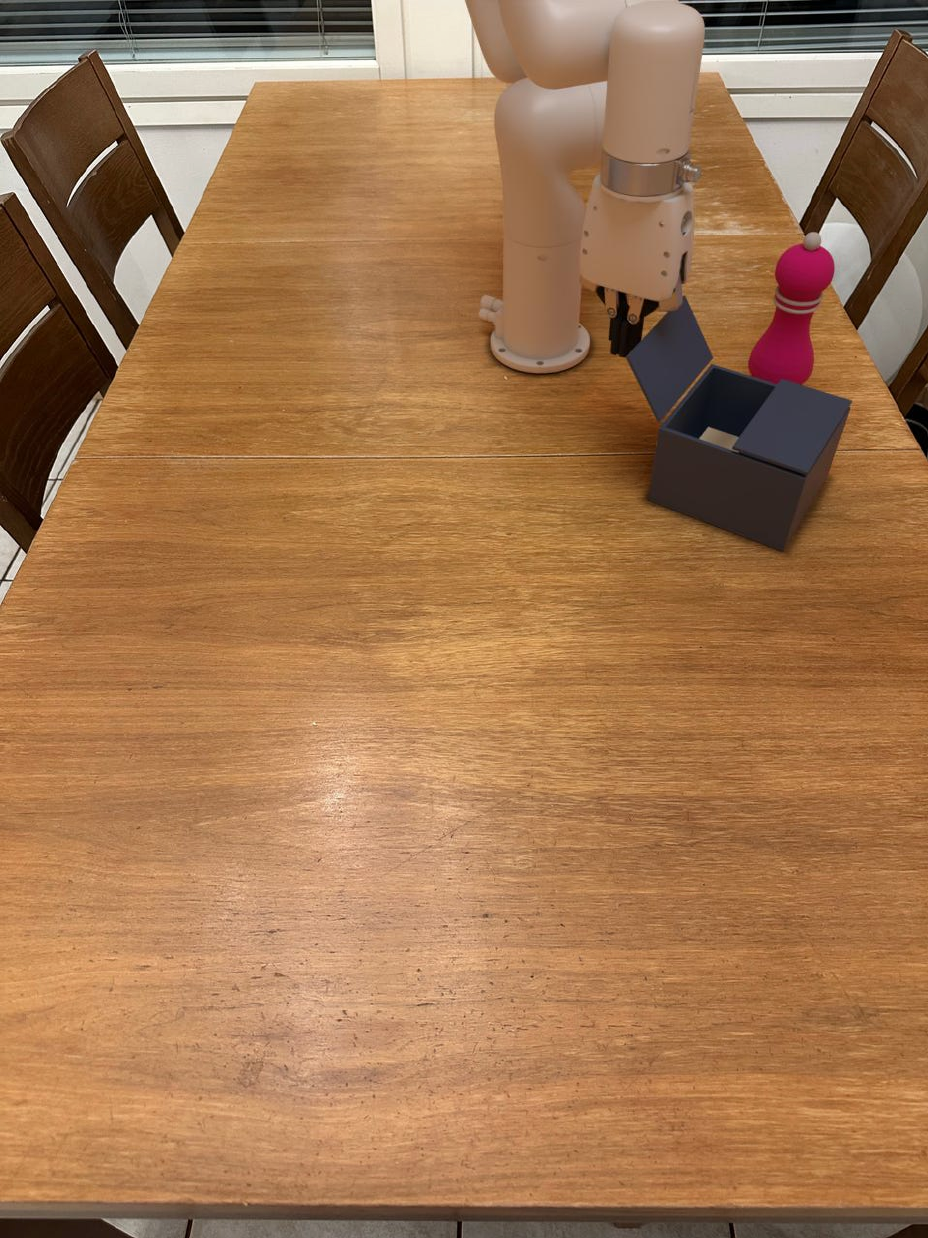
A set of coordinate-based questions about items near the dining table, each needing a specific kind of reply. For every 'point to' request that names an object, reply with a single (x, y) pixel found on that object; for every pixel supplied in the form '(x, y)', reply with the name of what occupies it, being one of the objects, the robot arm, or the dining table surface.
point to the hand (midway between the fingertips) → (623, 349)
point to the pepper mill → (793, 313)
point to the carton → (748, 454)
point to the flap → (669, 359)
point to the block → (719, 438)
